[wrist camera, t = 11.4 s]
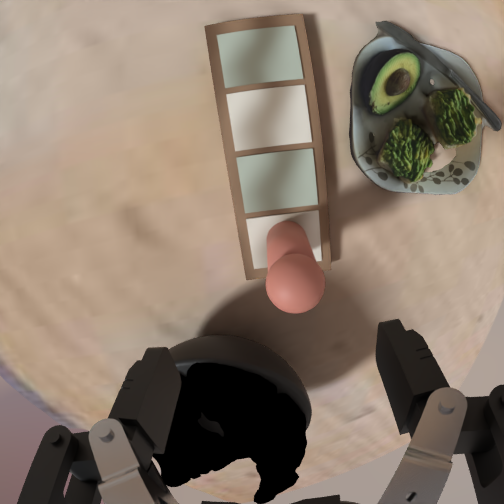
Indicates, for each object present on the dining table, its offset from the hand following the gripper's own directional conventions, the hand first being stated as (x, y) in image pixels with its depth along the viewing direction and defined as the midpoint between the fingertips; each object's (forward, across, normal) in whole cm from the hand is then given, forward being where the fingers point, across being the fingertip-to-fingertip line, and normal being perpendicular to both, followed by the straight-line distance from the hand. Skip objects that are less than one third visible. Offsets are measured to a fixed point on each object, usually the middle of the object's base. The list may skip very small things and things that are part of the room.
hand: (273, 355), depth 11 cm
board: (+22, -1, -5) cm, 22 cm away
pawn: (+20, -1, +4) cm, 20 cm away
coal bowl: (+22, +8, +21) cm, 31 cm away
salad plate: (+22, -17, -7) cm, 29 cm away
